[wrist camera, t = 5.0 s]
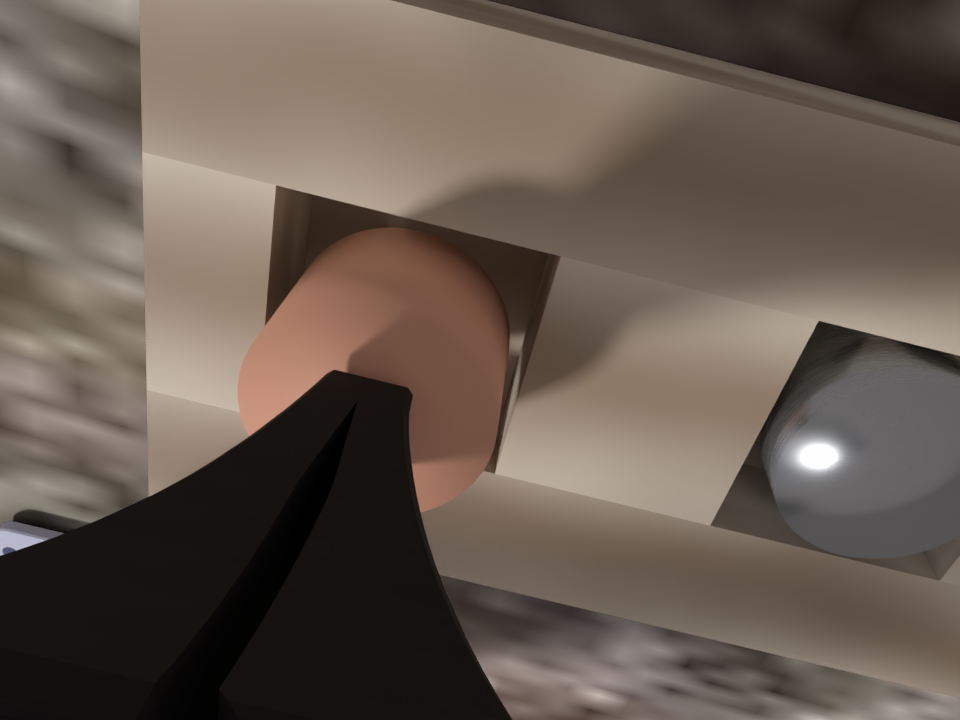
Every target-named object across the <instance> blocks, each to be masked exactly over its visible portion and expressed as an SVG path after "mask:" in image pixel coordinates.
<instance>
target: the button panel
mask: <svg viewBox="0 0 960 720" xmlns="http://www.w3.org/2000/svg"><path fill="white" fill-rule="evenodd" d="M140 49H141V103H142V156H143V210H144V263H145V317H146V371H147V424H148V478H149V496H151V495H153V494H155V493H157V492H159V491H161V490H163V489H165V488H167V487H168V486H170V485H172V484H174V483H176V482H178V481H180V480H181V479H183V478H185V477H187V476H188V475H190V474H192V473H194V472H195V471H197V470H199V469H200V468H202V467H203V466H205V465H207V464H208V463H210V462H212V461H213V460H215V459H216V458H218V457H219V456H221V455H222V454H224V453H225V452H227V451H228V450H230V449H231V448H233V447H234V446H236V445H237V444H239V443H240V442H242V441H243V440H245V439H246V438H248V437H249V436H248V433H247V431H246V429H245V427H244V424H243V421H242V418H241V415H240V409H239V404H238V380H239V373H240V369H241V366H242V363H243V360H244V358H245V356H246V354H247V352H248V350H249V348H250V346H251V345H252V343H253V342H254V341H255V339H256V338H257V336H258V335H259V334H260V332H261V331H262V330H263V328H264V327H265V326H266V324H267V323H268V321H269V320H270V319H271V317H272V316H273V315H274V313H275V312H276V311H277V309H278V308H279V306H280V305H281V304H282V302H283V301H284V300H285V298H286V297H287V295H288V294H289V293H290V291H291V290H292V289H293V287H294V286H295V285H296V283H297V282H298V280H299V279H300V278H301V276H302V275H303V274H304V272H305V271H306V270H307V268H308V267H309V266H310V264H311V263H312V262H313V260H314V259H315V258H316V257H317V256H318V255H319V254H320V253H321V252H322V251H323V250H325V249H326V248H327V247H329V246H330V245H332V244H333V243H334V242H336V241H338V240H340V239H342V238H344V237H346V236H349V235H352V234H354V233H357V232H360V231H365V230H370V229H376V228H405V229H410V230H416V231H421V232H424V233H427V234H430V235H433V236H436V237H438V238H440V239H443V240H445V241H447V242H449V243H451V244H452V245H454V246H456V247H457V248H459V249H461V250H462V251H464V252H465V253H466V254H467V255H469V256H470V257H471V258H472V259H474V260H475V261H476V262H477V263H478V264H479V265H480V266H481V267H482V268H483V269H484V270H485V272H486V273H487V274H488V276H489V277H490V278H491V279H492V281H493V282H494V284H495V286H496V287H497V289H498V291H499V293H500V294H501V297H502V299H503V302H504V304H505V307H506V311H507V315H508V319H509V328H510V343H509V351H508V359H507V366H506V373H505V380H504V388H503V395H502V402H501V409H500V416H499V424H498V431H497V437H496V442H495V446H494V450H493V452H492V455H491V458H490V460H489V462H488V464H487V465H486V467H485V469H484V471H483V472H482V474H481V475H480V476H479V477H478V478H477V480H476V481H475V482H474V483H473V484H472V485H471V486H470V487H469V488H468V489H467V490H465V491H464V492H463V493H462V494H460V495H459V496H457V497H456V498H454V499H453V500H451V501H449V502H447V503H445V504H443V505H441V506H439V507H436V508H433V509H430V510H427V511H424V512H421V517H422V521H423V525H424V529H425V532H426V536H427V539H428V543H429V546H430V549H431V552H432V555H433V558H434V562H435V564H436V567H437V570H438V573H439V575H442V576H446V577H451V578H455V579H459V580H463V581H468V582H472V583H476V584H480V585H484V586H489V587H493V588H497V589H501V590H506V591H510V592H514V593H518V594H522V595H527V596H531V597H535V598H539V599H544V600H548V601H552V602H556V603H560V604H565V605H569V606H573V607H577V608H582V609H586V610H590V611H594V612H598V613H603V614H607V615H611V616H615V617H620V618H624V619H628V620H632V621H636V622H641V623H645V624H649V625H653V626H658V627H662V628H666V629H670V630H674V631H679V632H683V633H687V634H691V635H696V636H700V637H704V638H708V639H712V640H717V641H721V642H725V643H729V644H734V645H738V646H742V647H746V648H750V649H755V650H759V651H763V652H767V653H772V654H776V655H780V656H784V657H789V658H793V659H797V660H801V661H805V662H810V663H814V664H818V665H822V666H827V667H831V668H835V669H839V670H843V671H848V672H852V673H856V674H860V675H865V676H869V677H873V678H877V679H881V680H886V681H890V682H894V683H898V684H903V685H907V686H911V687H915V688H919V689H924V690H928V691H932V692H936V693H941V694H945V695H949V696H953V697H957V698H959V697H960V537H958V538H956V539H954V540H952V541H950V542H948V543H946V544H943V545H941V546H938V547H936V548H933V549H930V550H927V551H924V552H920V553H916V554H912V555H907V556H901V557H894V558H883V559H866V558H855V557H849V556H844V555H839V554H835V553H832V552H829V551H826V550H824V549H821V548H819V547H816V546H814V545H813V544H811V543H809V542H808V541H806V540H804V539H803V538H802V537H800V536H799V535H798V534H797V533H795V532H794V531H793V529H792V528H791V527H790V526H789V525H788V524H787V523H786V521H785V520H784V518H783V517H782V515H781V513H780V511H779V508H778V506H777V504H776V501H775V498H774V495H773V492H772V489H771V486H770V483H769V481H768V478H767V475H766V472H765V469H764V466H763V463H762V460H761V458H760V455H759V452H758V449H757V446H756V443H755V440H756V438H757V436H758V434H759V433H760V431H761V429H762V427H763V425H764V423H765V421H766V419H767V417H768V416H769V414H770V412H771V410H772V408H773V406H774V404H775V402H776V400H777V399H778V397H779V395H780V393H781V391H782V389H783V387H784V385H785V383H786V382H787V380H788V378H789V376H790V374H791V372H792V370H793V368H794V366H795V365H796V363H797V361H798V359H799V357H800V355H801V353H802V351H803V350H804V348H805V346H806V344H807V342H808V340H809V338H810V336H811V334H812V333H813V331H814V329H815V327H816V325H817V323H818V321H822V322H826V323H830V324H834V325H838V326H842V327H846V328H850V329H854V330H858V331H862V332H866V333H870V334H874V335H878V336H882V337H886V338H890V339H894V340H898V341H902V342H906V343H910V344H914V345H918V346H922V347H926V348H930V349H934V350H938V351H942V352H946V353H950V354H953V355H954V356H955V357H956V358H957V360H958V361H959V362H960V122H957V121H953V120H949V119H945V118H941V117H937V116H934V115H930V114H926V113H922V112H918V111H914V110H910V109H906V108H903V107H899V106H895V105H891V104H887V103H883V102H879V101H876V100H872V99H868V98H864V97H860V96H856V95H852V94H848V93H845V92H841V91H837V90H833V89H829V88H825V87H821V86H817V85H814V84H810V83H806V82H802V81H798V80H794V79H790V78H786V77H783V76H779V75H775V74H771V73H767V72H763V71H759V70H755V69H752V68H748V67H744V66H740V65H736V64H732V63H728V62H724V61H721V60H717V59H713V58H709V57H705V56H701V55H697V54H693V53H690V52H686V51H682V50H678V49H674V48H670V47H666V46H663V45H659V44H655V43H651V42H647V41H643V40H639V39H635V38H632V37H628V36H624V35H620V34H616V33H612V32H608V31H604V30H601V29H597V28H593V27H589V26H585V25H581V24H577V23H573V22H570V21H566V20H562V19H558V18H554V17H550V16H546V15H542V14H539V13H535V12H531V11H527V10H523V9H519V8H515V7H511V6H508V5H504V4H500V3H496V2H492V1H488V0H140Z"/></svg>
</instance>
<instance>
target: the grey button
mask: <svg viewBox="0 0 960 720" xmlns="http://www.w3.org/2000/svg"><path fill="white" fill-rule="evenodd" d="M755 443H756V446H757V449H758V452H759V455H760V458H761V460H762V463H763V466H764V469H765V472H766V475H767V478H768V481H769V483H770V486H771V489H772V492H773V495H774V498H775V501H776V504H777V506H778V508H779V511H780V513H781V515H782V517H783V518H784V520H785V521H786V523H787V524H788V525H789V526H790V527H791V528H792V529H793V531H794V532H795V533H797V534H798V535H799V536H800V537H802V538H803V539H804V540H806V541H808V542H809V543H811V544H813V545H814V546H816V547H819V548H821V549H824V550H826V551H829V552H832V553H835V554H839V555H844V556H849V557H855V558H866V559H883V558H894V557H901V556H907V555H912V554H916V553H920V552H924V551H927V550H930V549H933V548H936V547H938V546H941V545H943V544H946V543H948V542H950V541H952V540H954V539H956V538H958V537H960V362H959V361H958V360H957V358H956V357H955V356H954V355H953V354H950V353H946V352H942V351H938V350H934V349H930V348H926V347H922V346H918V345H914V344H910V343H906V342H902V341H898V340H894V339H890V338H886V337H882V336H878V335H874V334H870V333H866V332H862V331H858V330H854V329H850V328H846V327H842V326H838V325H834V324H830V323H826V322H822V321H818V323H817V325H816V327H815V329H814V331H813V333H812V334H811V336H810V338H809V340H808V342H807V344H806V346H805V348H804V350H803V351H802V353H801V355H800V357H799V359H798V361H797V363H796V365H795V366H794V368H793V370H792V372H791V374H790V376H789V378H788V380H787V382H786V383H785V385H784V387H783V389H782V391H781V393H780V395H779V397H778V399H777V400H776V402H775V404H774V406H773V408H772V410H771V412H770V414H769V416H768V417H767V419H766V421H765V423H764V425H763V427H762V429H761V431H760V433H759V434H758V436H757V438H756V440H755Z"/></svg>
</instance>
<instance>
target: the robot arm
mask: <svg viewBox="0 0 960 720" xmlns="http://www.w3.org/2000/svg"><path fill="white" fill-rule="evenodd" d="M412 398H413V394H412V393H411V391H410V390H409V388H408V387H404V386H400V385H396V384H392V383H387V382H383V381H379V380H375V379H371V378H367V377H363V376H359V375H355V374H350V373H346V372H342V371H338V370H332V371H331V372H329V373H327V374H326V375H325V376H323V377H322V378H321V379H320V380H319V381H318V382H317V383H316V384H315V385H313V386H312V387H311V388H310V389H309V390H308V391H307V392H305V393H304V394H303V395H302V396H301V397H300V398H298V399H297V400H296V401H295V402H293V403H292V404H291V405H290V406H289V407H287V408H286V409H285V410H284V411H282V412H281V413H280V414H278V415H277V416H276V417H274V418H273V419H272V420H270V421H269V422H268V423H267V424H265V425H264V426H263V427H261V428H260V429H259V430H257V431H256V432H255V433H253V434H252V435H250V436H249V437H248V438H246V439H245V440H243V441H242V442H240V443H239V444H237V445H236V446H234V447H233V448H231V449H230V450H228V451H227V452H225V453H224V454H222V455H221V456H219V457H218V458H216V459H215V460H213V461H212V462H210V463H208V464H207V465H205V466H203V467H202V468H200V469H199V470H197V471H195V472H194V473H192V474H190V475H188V476H187V477H185V478H183V479H181V480H180V481H178V482H176V483H174V484H172V485H170V486H168V487H167V488H165V489H163V490H161V491H159V492H157V493H155V494H153V495H151V496H149V497H147V498H145V499H143V500H141V501H139V502H137V503H135V504H133V505H131V506H128V507H126V508H124V509H122V510H120V511H117V512H115V513H113V514H111V515H108V516H106V517H104V518H102V519H100V520H97V521H95V522H93V523H90V524H88V525H85V526H83V527H80V528H78V529H75V530H72V531H70V532H67V533H61V532H57V531H52V530H48V529H44V528H40V527H35V526H31V525H27V524H23V523H18V522H11V521H8V522H4V523H3V524H2V525H1V526H0V720H512V718H511V717H510V715H509V714H508V712H507V710H506V709H505V707H504V706H503V704H502V702H501V701H500V699H499V697H498V696H497V694H496V692H495V691H494V689H493V687H492V685H491V684H490V682H489V680H488V679H487V677H486V675H485V673H484V672H483V670H482V668H481V666H480V664H479V662H478V660H477V658H476V656H475V654H474V652H473V650H472V649H471V647H470V645H469V643H468V641H467V639H466V637H465V634H464V632H463V630H462V628H461V625H460V623H459V621H458V619H457V616H456V614H455V612H454V610H453V607H452V605H451V603H450V601H449V598H448V596H447V594H446V592H445V589H444V586H443V584H442V581H441V578H440V575H439V573H438V570H437V567H436V564H435V562H434V558H433V555H432V552H431V549H430V546H429V543H428V539H427V536H426V532H425V529H424V525H423V521H422V517H421V512H420V508H419V503H418V499H417V494H416V488H415V483H414V477H413V469H412V461H411V454H410V442H409V412H410V408H411V403H412Z"/></svg>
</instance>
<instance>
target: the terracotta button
mask: <svg viewBox="0 0 960 720" xmlns="http://www.w3.org/2000/svg"><path fill="white" fill-rule="evenodd" d="M509 343H510V328H509V319H508V315H507V311H506V307H505V304H504V302H503V299H502V297H501V294H500V293H499V291H498V289H497V287H496V286H495V284H494V282H493V281H492V279H491V278H490V277H489V276H488V274H487V273H486V272H485V270H484V269H483V268H482V267H481V266H480V265H479V264H478V263H477V262H476V261H475V260H474V259H472V258H471V257H470V256H469V255H467V254H466V253H465V252H464V251H462V250H461V249H459V248H457V247H456V246H454V245H452V244H451V243H449V242H447V241H445V240H443V239H440V238H438V237H436V236H433V235H430V234H427V233H424V232H421V231H416V230H410V229H405V228H376V229H370V230H365V231H360V232H357V233H354V234H352V235H349V236H346V237H344V238H342V239H340V240H338V241H336V242H334V243H333V244H332V245H330V246H329V247H327V248H326V249H325V250H323V251H322V252H321V253H320V254H319V255H318V256H317V257H316V258H315V259H314V260H313V262H312V263H311V264H310V266H309V267H308V268H307V270H306V271H305V272H304V274H303V275H302V276H301V278H300V279H299V280H298V282H297V283H296V285H295V286H294V287H293V289H292V290H291V291H290V293H289V294H288V295H287V297H286V298H285V300H284V301H283V302H282V304H281V305H280V306H279V308H278V309H277V311H276V312H275V313H274V315H273V316H272V317H271V319H270V320H269V321H268V323H267V324H266V326H265V327H264V328H263V330H262V331H261V332H260V334H259V335H258V336H257V338H256V339H255V341H254V342H253V343H252V345H251V346H250V348H249V350H248V352H247V354H246V356H245V358H244V360H243V363H242V366H241V369H240V373H239V380H238V404H239V409H240V415H241V418H242V421H243V424H244V427H245V429H246V431H247V433H248V436H250V435H252V434H253V433H255V432H256V431H257V430H259V429H260V428H261V427H263V426H264V425H265V424H267V423H268V422H269V421H270V420H272V419H273V418H274V417H276V416H277V415H278V414H280V413H281V412H282V411H284V410H285V409H286V408H287V407H289V406H290V405H291V404H292V403H293V402H295V401H296V400H297V399H298V398H300V397H301V396H302V395H303V394H304V393H305V392H307V391H308V390H309V389H310V388H311V387H312V386H313V385H315V384H316V383H317V382H318V381H319V380H320V379H321V378H322V377H323V376H325V375H326V374H327V373H329V372H331V371H332V370H338V371H342V372H346V373H350V374H355V375H359V376H363V377H367V378H371V379H375V380H379V381H383V382H387V383H392V384H396V385H400V386H404V387H408V388H409V390H410V391H411V393H412V394H413V398H412V403H411V408H410V412H409V442H410V454H411V461H412V469H413V477H414V483H415V488H416V494H417V499H418V503H419V508H420V512H424V511H427V510H430V509H433V508H436V507H439V506H441V505H443V504H445V503H447V502H449V501H451V500H453V499H454V498H456V497H457V496H459V495H460V494H462V493H463V492H464V491H465V490H467V489H468V488H469V487H470V486H471V485H472V484H473V483H474V482H475V481H476V480H477V478H478V477H479V476H480V475H481V474H482V472H483V471H484V469H485V467H486V465H487V464H488V462H489V460H490V458H491V455H492V452H493V450H494V446H495V442H496V437H497V431H498V424H499V416H500V409H501V402H502V395H503V388H504V380H505V373H506V366H507V359H508V351H509Z"/></svg>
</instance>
